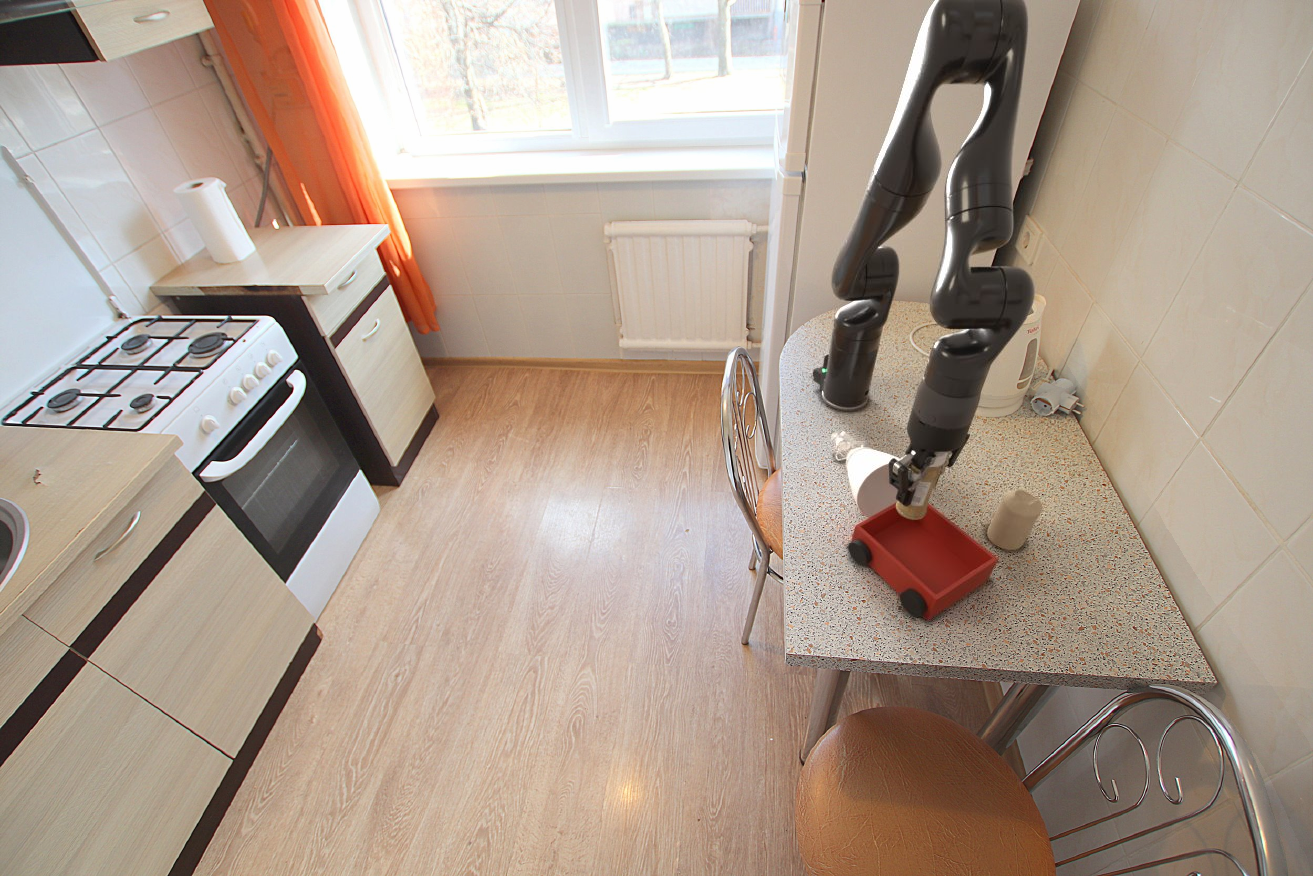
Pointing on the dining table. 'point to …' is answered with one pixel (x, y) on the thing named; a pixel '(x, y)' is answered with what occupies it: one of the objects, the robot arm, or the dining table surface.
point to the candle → (1014, 519)
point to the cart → (925, 556)
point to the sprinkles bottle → (922, 490)
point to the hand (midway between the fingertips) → (914, 495)
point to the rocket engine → (867, 474)
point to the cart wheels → (908, 598)
